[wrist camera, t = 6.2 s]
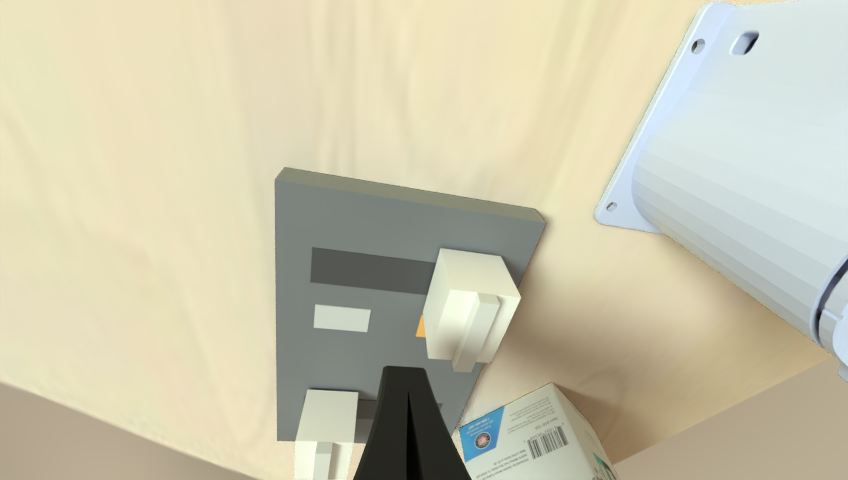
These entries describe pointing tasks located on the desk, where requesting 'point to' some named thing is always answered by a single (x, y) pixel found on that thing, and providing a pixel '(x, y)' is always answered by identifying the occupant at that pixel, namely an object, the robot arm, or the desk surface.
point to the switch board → (373, 285)
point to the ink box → (535, 442)
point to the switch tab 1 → (325, 435)
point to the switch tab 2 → (468, 308)
